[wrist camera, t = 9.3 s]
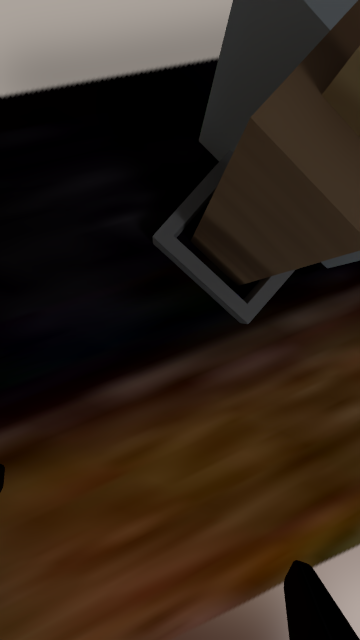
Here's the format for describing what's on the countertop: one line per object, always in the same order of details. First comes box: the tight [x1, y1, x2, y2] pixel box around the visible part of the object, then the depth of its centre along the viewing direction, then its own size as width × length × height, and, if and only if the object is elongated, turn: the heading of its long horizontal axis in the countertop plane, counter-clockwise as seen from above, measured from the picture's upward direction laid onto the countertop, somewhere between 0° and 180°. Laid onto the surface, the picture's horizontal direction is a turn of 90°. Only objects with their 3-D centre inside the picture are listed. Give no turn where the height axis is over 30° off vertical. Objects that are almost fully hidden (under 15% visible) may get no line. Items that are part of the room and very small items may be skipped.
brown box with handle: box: [191, 0, 360, 286], centre depth 12 cm, size 5×5×13 cm
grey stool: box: [153, 0, 360, 324], centre depth 14 cm, size 10×14×10 cm
